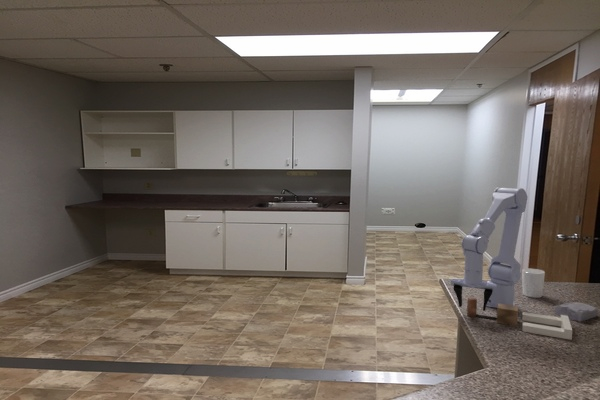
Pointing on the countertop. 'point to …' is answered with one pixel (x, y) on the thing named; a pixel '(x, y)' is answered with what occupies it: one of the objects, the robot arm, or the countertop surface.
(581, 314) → the stone block
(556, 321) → the frame
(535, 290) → the white cup
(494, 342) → the countertop surface
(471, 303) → the string block
